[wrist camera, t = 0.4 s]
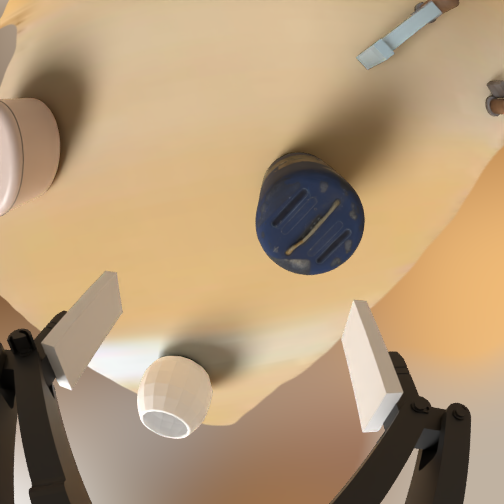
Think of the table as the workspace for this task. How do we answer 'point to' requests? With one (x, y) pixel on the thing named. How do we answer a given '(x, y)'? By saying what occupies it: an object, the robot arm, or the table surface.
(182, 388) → the cup
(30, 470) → the robot arm
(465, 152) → the table surface
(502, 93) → the gateposts
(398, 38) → the gate
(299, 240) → the canister
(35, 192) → the container
